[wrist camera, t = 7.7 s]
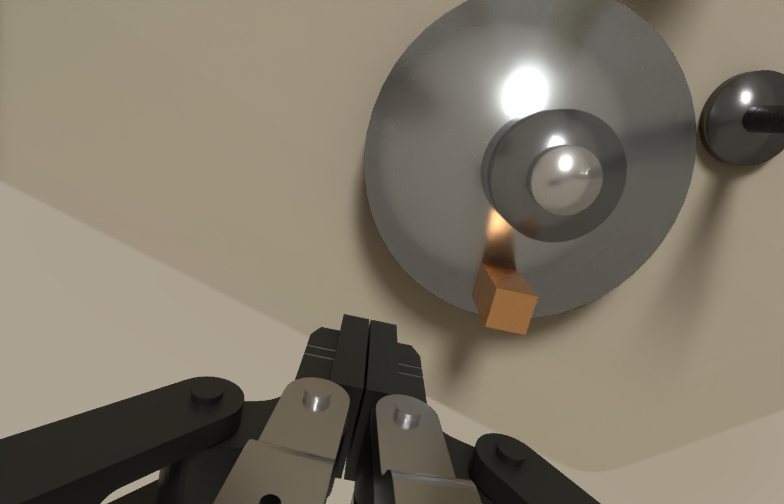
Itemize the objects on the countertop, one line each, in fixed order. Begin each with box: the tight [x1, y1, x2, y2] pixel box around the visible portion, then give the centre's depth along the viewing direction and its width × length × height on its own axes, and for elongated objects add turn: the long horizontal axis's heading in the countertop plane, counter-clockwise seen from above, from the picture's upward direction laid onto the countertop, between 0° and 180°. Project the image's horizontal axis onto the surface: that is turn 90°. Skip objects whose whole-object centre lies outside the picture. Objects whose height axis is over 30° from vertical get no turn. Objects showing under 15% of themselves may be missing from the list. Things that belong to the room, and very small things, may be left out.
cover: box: [481, 109, 627, 243], centre depth 22 cm, size 6×6×4 cm
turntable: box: [364, 0, 697, 335], centre depth 23 cm, size 17×17×6 cm
